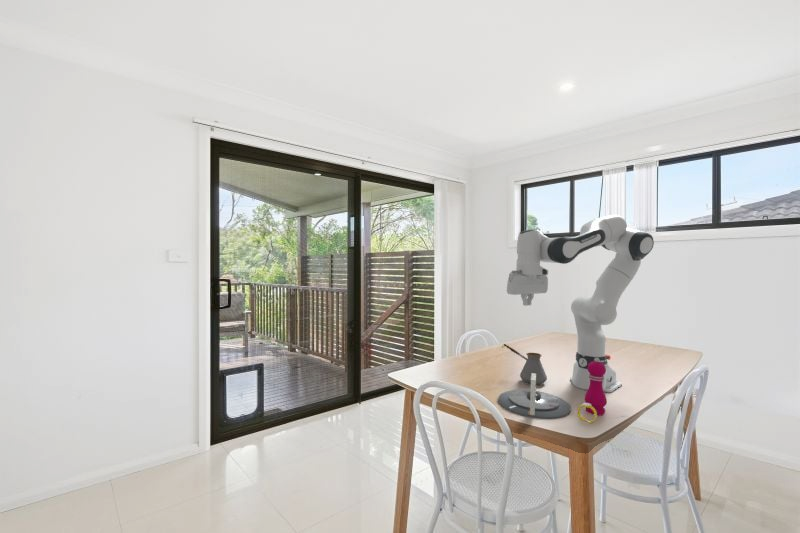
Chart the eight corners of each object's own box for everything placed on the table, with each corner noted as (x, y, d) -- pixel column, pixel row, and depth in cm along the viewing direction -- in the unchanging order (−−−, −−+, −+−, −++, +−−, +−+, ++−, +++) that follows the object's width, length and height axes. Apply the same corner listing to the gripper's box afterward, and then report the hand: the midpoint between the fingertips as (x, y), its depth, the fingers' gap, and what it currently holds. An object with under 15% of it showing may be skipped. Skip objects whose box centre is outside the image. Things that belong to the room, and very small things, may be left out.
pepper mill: (609, 417, 135) (611, 360, 134) (587, 414, 136) (589, 359, 136) (602, 409, 142) (604, 355, 141) (581, 407, 143) (583, 354, 143)
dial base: (528, 388, 163) (528, 385, 163) (585, 409, 141) (585, 406, 141) (484, 399, 149) (484, 396, 149) (539, 424, 127) (540, 420, 127)
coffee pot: (551, 383, 171) (552, 349, 171) (539, 389, 163) (540, 354, 163) (508, 372, 186) (508, 341, 186) (495, 377, 178) (496, 345, 178)
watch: (576, 420, 132) (576, 403, 132) (579, 418, 134) (578, 401, 134) (595, 424, 128) (594, 406, 128) (598, 422, 130) (597, 404, 130)
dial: (511, 390, 157) (512, 358, 157) (558, 396, 150) (559, 363, 150) (504, 414, 133) (505, 376, 132) (560, 423, 126) (562, 383, 126)
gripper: (516, 270, 142) (515, 307, 142) (551, 270, 153) (550, 305, 153) (503, 270, 147) (502, 305, 148) (538, 270, 158) (537, 303, 159)
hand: (527, 305), depth 151 cm, fingers closed
